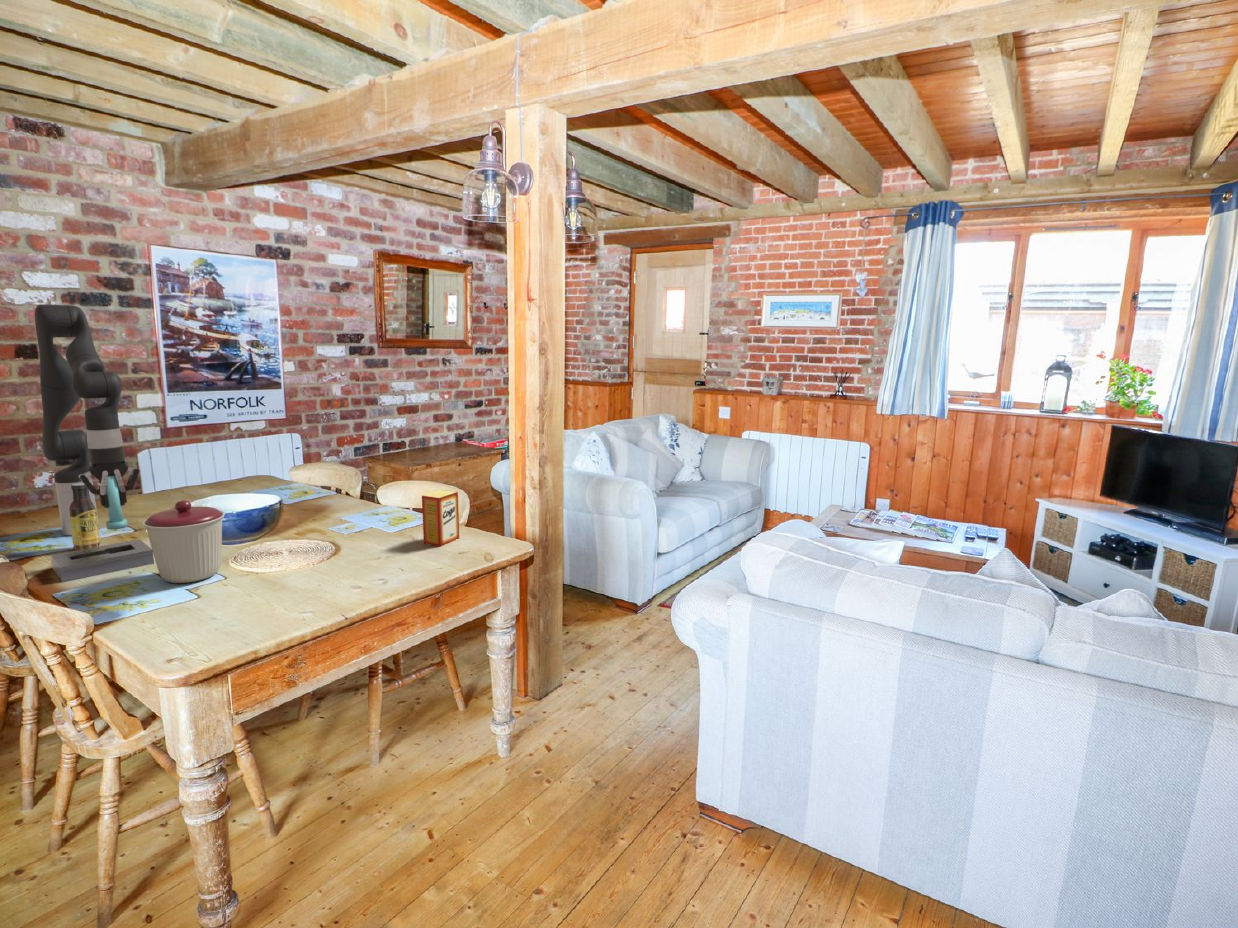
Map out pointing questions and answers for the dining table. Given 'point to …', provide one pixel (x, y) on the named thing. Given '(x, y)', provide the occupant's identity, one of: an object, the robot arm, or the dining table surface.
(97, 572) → the grey slotted block
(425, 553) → the dining table surface
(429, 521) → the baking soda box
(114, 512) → the peg
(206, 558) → the canister
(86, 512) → the sauce bottle
